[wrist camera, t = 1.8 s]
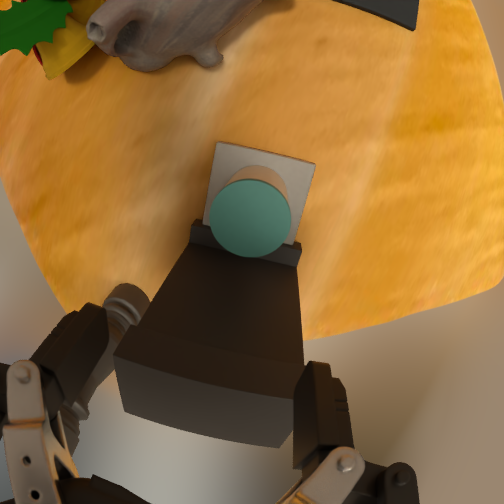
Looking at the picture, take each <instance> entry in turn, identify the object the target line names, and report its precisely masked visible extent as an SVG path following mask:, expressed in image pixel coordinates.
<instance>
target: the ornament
mask: <svg viewBox="0 0 504 504" xmlns="http://www.w3.org/2000/svg"><path fill="white" fill-rule="evenodd" d="M11 2H12V7H11V9H9V10H4V11H2V10H0V56H1V55H3V54H4V53H6V52H8V51H9V50H11V49H18V50H20V51H21V52H22V53H23V54H24V55H26V56H27V55H28V54H29V52H30V51H31V48H32V47H33V50H34V53H35V55H36V57H37V59H38V61H39V62H40V64H41V65H42V66H43V69H44V71H45V73H46V77H47V79H48V80H52V79H54V78H55V77H57V76H59V75H60V74H62V73H63V72H64V71H66V70H67V69H68V68H69V67H71V66H72V65H73V64H74V63H75V62H77V61H78V60H79V59H80V58H81V57H82V56H83V55H84V54H86V53H87V52H88V51H89V50H90V49H91V48H92V47H93V46H94V45H95V43H94V42H93V41H92V40H89V39H88V38H87V36H88V34H87V31H86V25H87V23H88V20H89V18H90V17H91V16H92V14H93V13H94V12H95V11H96V10H97V9H98V8H99V7H100V6H101V5H103V4H104V3H105V2H106V0H21V2H17V1H13V0H12V1H11Z"/></svg>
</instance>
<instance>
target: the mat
mask: <svg viewBox="0 0 504 504" xmlns="http://www.w3.org/2000/svg"><path fill="white" fill-rule="evenodd" d="M333 1H337V2H340V3H343V4H346V5H349V6H352V7H355V8H358V9H361V10H364V11H367V12H369V13H372V14H374V15H377V16H380V17H382V18H384V19H387V20H389V21H392V22H394V23H396V24H398V25H401V26H403V27H405V28H407V29H409V30H411V31H414V30H415V29H416V22H417V14H418V6H419V0H333Z"/></svg>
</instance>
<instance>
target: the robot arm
mask: <svg viewBox="0 0 504 504" xmlns="http://www.w3.org/2000/svg"><path fill="white" fill-rule="evenodd" d="M108 343H109V328H108V320H107V312H106V309H105V308H103V307H101V306H98V305H95V304H92V303H89V302H88V303H86V304H85V305H84V306H83V307H82V309H81V310H80V311H79V312H77V311H75V310H74V311H73V312H71V313H69V314H67V315H66V316H64V317H63V318H62V320H61V321H60V322H59V323H58V324H57V327H55V328H54V329H53V330H52V331H51V334H49V335H48V336H47V338H46V339H45V340H44V341H43V342H42V344H41V345H40V346H39V348H38V349H37V350H36V352H35V353H34V354H33V355H32V357H31V358H30V359H29V360H19V361H17V362H14V363H13V364H12V365H7V364H3V363H0V440H1V438H2V436H3V440H4V447H5V455H6V461H7V466H8V472H9V477H10V482H11V486H12V491H13V495H14V498H13V499H10V500H7V501H4V502H0V504H151V503H149V502H147V501H145V500H143V499H142V498H140V497H138V496H137V495H135V494H133V493H132V492H130V491H129V490H127V489H125V488H124V487H122V486H120V485H117V484H115V483H112V482H110V481H108V480H105V479H103V478H100V477H98V476H96V475H94V474H93V475H92V477H91V479H90V478H79V475H78V472H77V469H76V467H75V464H74V462H73V460H72V458H71V456H70V453H69V450H68V446H67V442H66V438H65V434H64V430H63V425H62V420H61V415H60V411H59V409H60V407H61V406H62V404H64V405H66V406H68V407H70V408H72V406H73V404H74V403H75V401H76V399H77V397H78V396H79V394H80V392H81V390H82V389H83V387H84V385H85V383H86V382H87V380H88V378H89V377H90V375H91V373H92V372H93V370H94V368H95V367H96V365H97V363H98V362H99V360H100V358H101V357H102V355H103V354H104V352H105V350H106V348H107V346H108ZM348 410H349V409H348V403H347V397H346V390H345V388H344V386H343V384H342V383H341V381H340V379H339V378H333V377H332V375H331V368H330V365H329V364H328V363H322V362H316V361H309V362H308V364H307V365H306V367H305V369H304V371H303V373H302V375H301V376H300V378H299V380H298V382H297V384H296V386H295V390H294V395H293V469H298V470H299V469H300V470H302V477H301V478H300V479H299V480H298V482H297V483H296V484H295V485H294V486H293V487H292V488H291V489H290V490H289V491H288V492H287V493H286V494H285V495H284V496H283V497H282V498H281V499H280V500H279V501H278V502H277V503H276V504H420V503H419V494H418V486H417V479H416V474H415V471H414V470H413V469H412V467H411V466H409V465H408V464H406V463H402V462H397V463H394V464H392V465H390V466H389V467H384V466H380V465H377V464H373V463H370V462H367V461H365V460H364V459H363V457H362V455H361V454H360V453H359V452H358V451H357V450H355V448H354V444H353V438H352V437H353V436H352V430H351V422H350V415H349V412H348Z"/></svg>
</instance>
